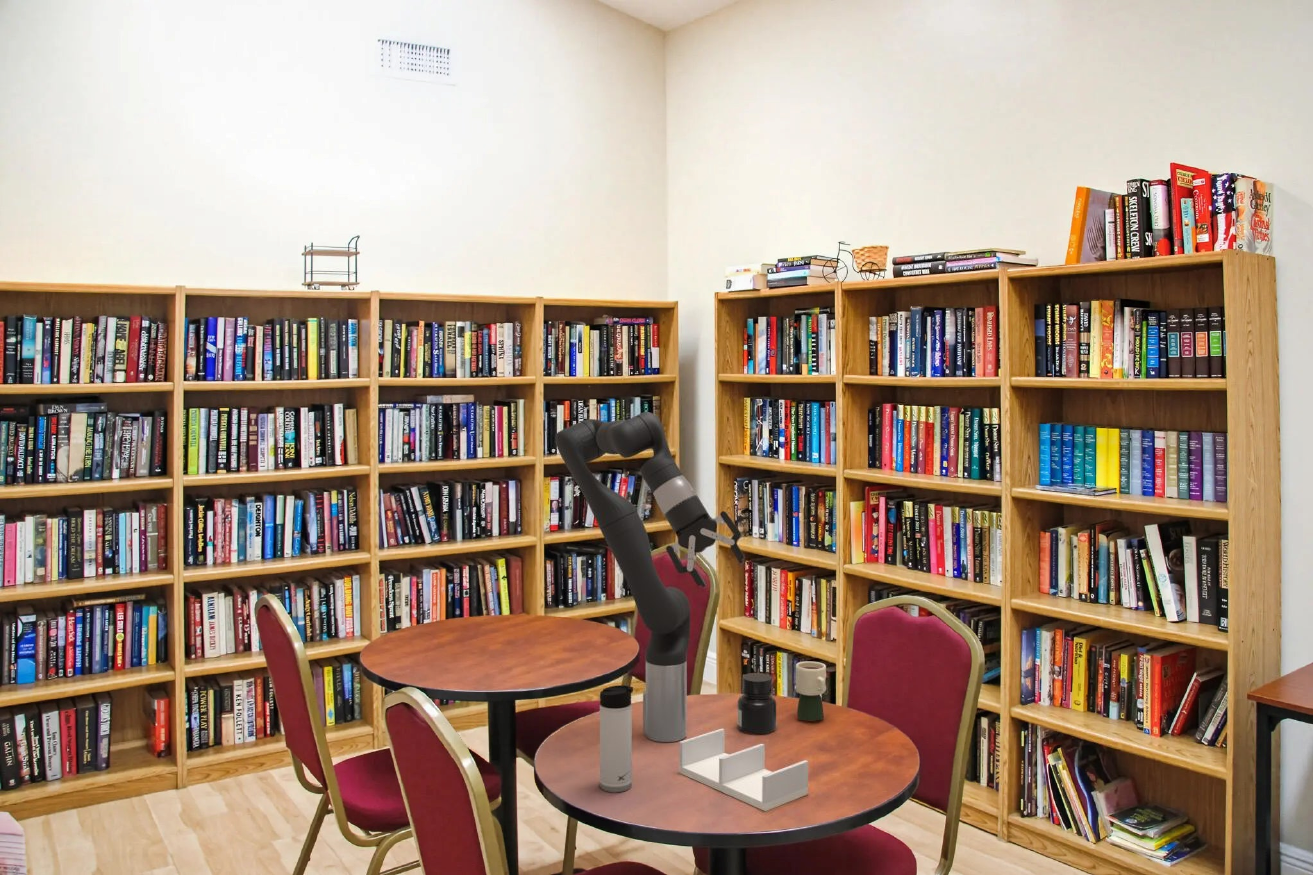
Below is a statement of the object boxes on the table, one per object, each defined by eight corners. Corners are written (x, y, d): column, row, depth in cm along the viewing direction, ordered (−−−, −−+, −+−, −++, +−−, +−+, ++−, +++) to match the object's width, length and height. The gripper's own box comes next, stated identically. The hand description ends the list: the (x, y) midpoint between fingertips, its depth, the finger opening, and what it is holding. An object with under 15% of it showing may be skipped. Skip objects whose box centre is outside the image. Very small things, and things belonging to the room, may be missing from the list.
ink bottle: (750, 718, 240) (751, 668, 240) (783, 726, 235) (784, 675, 235) (729, 730, 233) (729, 678, 232) (762, 738, 227) (763, 685, 227)
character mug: (836, 724, 237) (836, 669, 236) (810, 728, 234) (811, 673, 233) (810, 710, 246) (810, 657, 246) (785, 714, 243) (785, 661, 243)
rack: (679, 772, 208) (679, 741, 207) (721, 758, 216) (721, 728, 215) (765, 811, 190) (765, 777, 189) (807, 793, 197) (808, 761, 197)
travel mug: (629, 794, 197) (629, 693, 196) (596, 791, 199) (596, 690, 197) (636, 781, 203) (636, 683, 202) (604, 778, 205) (604, 681, 203)
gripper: (712, 486, 202) (756, 556, 199) (652, 524, 203) (694, 594, 200) (708, 482, 195) (753, 554, 191) (645, 521, 196) (689, 594, 192)
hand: (723, 575), depth 196 cm, fingers open, 8 cm apart
